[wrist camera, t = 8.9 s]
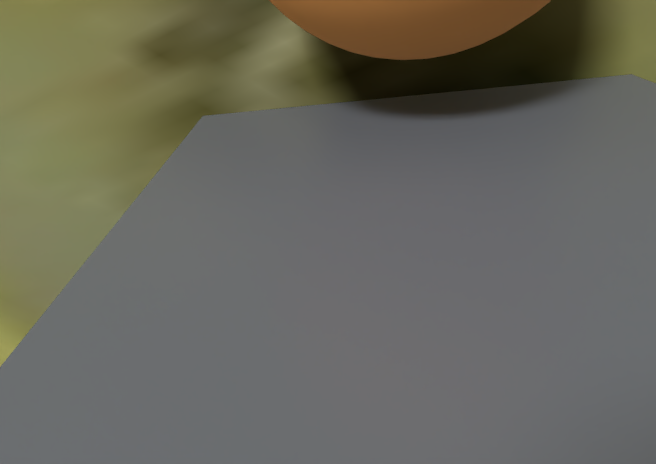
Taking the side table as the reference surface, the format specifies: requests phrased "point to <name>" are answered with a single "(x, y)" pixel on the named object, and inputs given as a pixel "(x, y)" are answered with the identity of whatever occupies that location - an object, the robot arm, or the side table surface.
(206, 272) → the grey block
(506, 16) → the ball
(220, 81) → the side table surface
